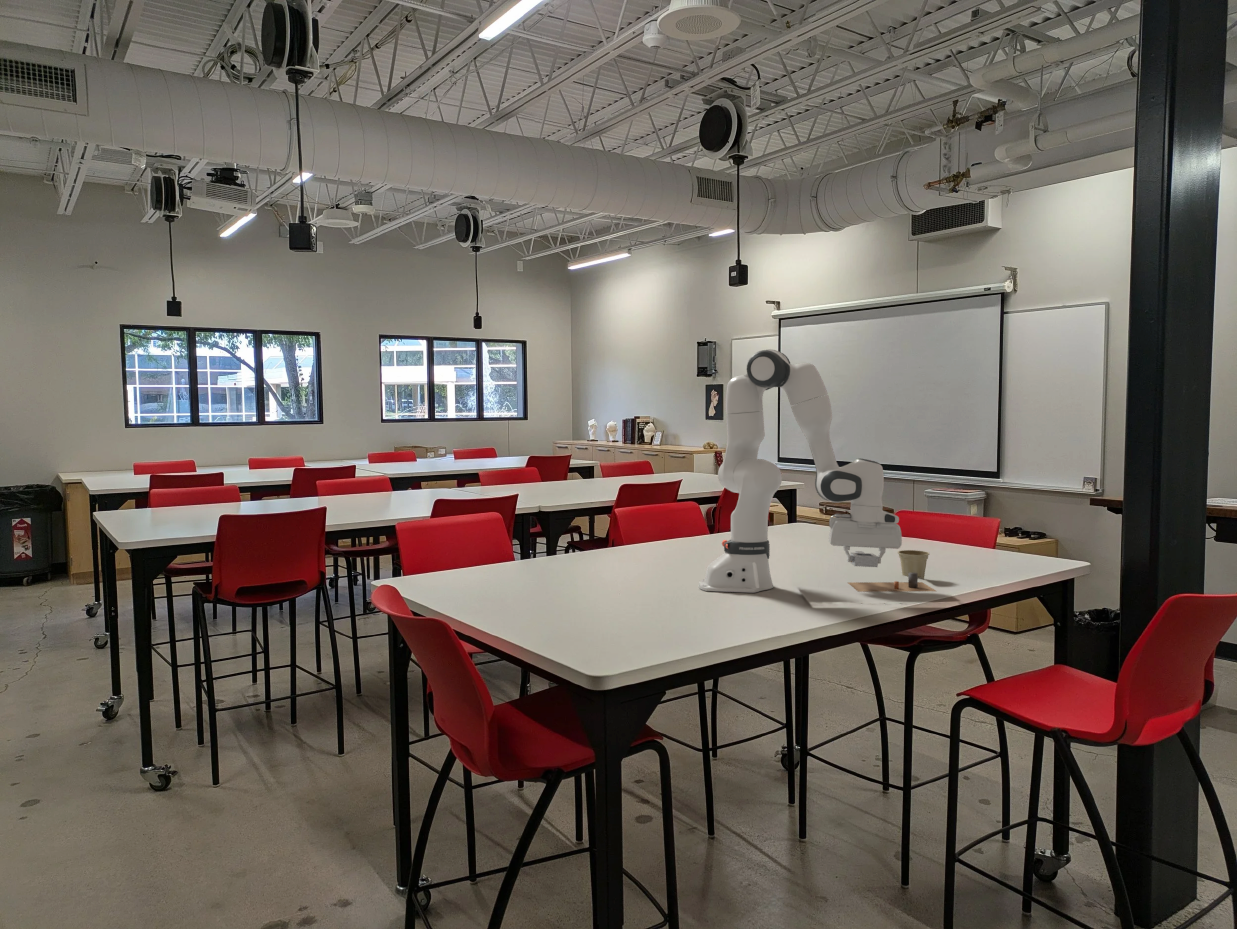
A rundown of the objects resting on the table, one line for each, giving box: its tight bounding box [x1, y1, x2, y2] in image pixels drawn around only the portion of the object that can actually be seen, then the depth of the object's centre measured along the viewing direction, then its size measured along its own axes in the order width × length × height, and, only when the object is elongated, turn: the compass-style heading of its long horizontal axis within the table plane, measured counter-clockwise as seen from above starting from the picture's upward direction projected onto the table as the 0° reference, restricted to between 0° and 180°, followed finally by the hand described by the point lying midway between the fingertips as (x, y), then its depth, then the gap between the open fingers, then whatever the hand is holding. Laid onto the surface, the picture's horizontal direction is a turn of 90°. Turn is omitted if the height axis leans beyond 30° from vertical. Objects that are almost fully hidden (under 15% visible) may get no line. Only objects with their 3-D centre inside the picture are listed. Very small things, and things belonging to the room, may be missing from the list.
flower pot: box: [897, 549, 930, 580], centre depth 253 cm, size 9×9×9 cm
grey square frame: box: [849, 550, 879, 568], centre depth 237 cm, size 10×6×3 cm, turn 176°
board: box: [847, 572, 937, 593], centre depth 236 cm, size 22×13×6 cm, turn 87°
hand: (863, 562), depth 235 cm, fingers closed on grey square frame, 6 cm apart
